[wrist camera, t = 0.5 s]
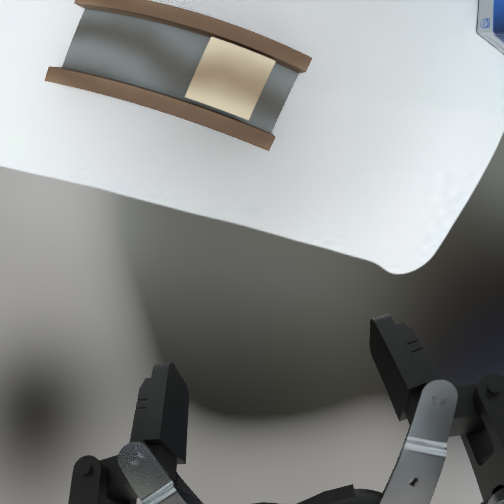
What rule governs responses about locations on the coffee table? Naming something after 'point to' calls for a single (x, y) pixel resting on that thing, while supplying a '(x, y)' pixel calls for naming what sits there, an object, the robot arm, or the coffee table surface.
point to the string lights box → (492, 22)
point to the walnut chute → (170, 63)
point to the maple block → (230, 78)
